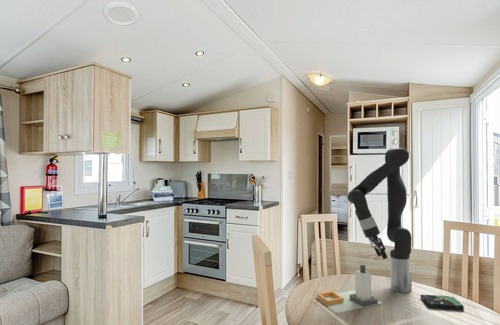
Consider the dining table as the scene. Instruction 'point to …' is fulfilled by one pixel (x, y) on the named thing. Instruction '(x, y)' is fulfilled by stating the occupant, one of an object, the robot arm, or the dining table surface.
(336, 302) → the panel
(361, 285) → the white square bottle
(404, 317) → the dining table surface
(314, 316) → the dining table surface
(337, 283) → the dining table surface
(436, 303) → the disk drive
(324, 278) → the dining table surface
